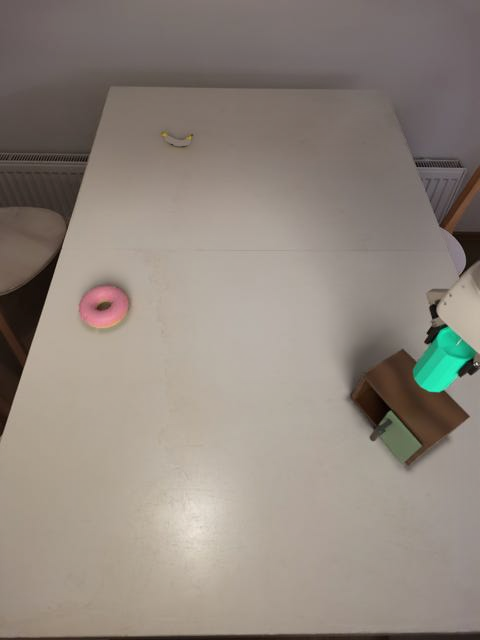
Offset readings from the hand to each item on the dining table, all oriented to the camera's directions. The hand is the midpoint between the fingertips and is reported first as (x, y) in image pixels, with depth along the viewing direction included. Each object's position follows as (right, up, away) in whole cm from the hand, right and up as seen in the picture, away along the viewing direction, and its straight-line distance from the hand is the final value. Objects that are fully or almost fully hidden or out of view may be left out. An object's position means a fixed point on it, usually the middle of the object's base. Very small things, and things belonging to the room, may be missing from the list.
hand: (448, 354), depth 66 cm
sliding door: (-5, -19, +14) cm, 24 cm away
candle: (0, -4, +6) cm, 7 cm away
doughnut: (-62, +7, +32) cm, 70 cm away
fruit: (-51, +59, +69) cm, 104 cm away
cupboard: (-1, -14, +18) cm, 23 cm away
